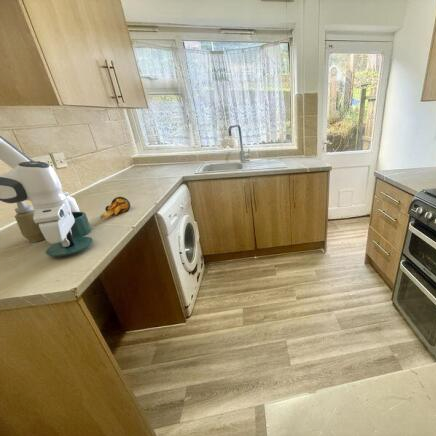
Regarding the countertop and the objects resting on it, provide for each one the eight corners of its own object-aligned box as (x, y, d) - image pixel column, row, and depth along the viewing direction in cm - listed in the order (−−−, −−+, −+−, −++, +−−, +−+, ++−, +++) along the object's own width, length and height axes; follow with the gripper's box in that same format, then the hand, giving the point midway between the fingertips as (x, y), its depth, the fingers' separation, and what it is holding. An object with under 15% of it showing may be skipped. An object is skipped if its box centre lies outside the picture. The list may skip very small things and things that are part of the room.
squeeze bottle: (57, 235, 105) (36, 196, 97) (34, 245, 98) (10, 203, 90) (45, 233, 107) (24, 194, 100) (22, 242, 100) (-2, 201, 93)
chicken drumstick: (136, 199, 132) (119, 199, 115) (131, 218, 133) (113, 222, 115) (118, 194, 131) (98, 194, 113) (113, 214, 131) (92, 217, 113)
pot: (48, 248, 95) (38, 228, 92) (60, 230, 110) (52, 213, 106) (88, 240, 101) (80, 221, 97) (94, 224, 115) (88, 207, 112)
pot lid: (41, 262, 83) (34, 247, 81) (52, 244, 94) (46, 231, 92) (90, 251, 89) (85, 237, 87) (96, 236, 100) (91, 223, 98)
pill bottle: (86, 221, 119) (73, 191, 112) (66, 227, 112) (51, 197, 106) (80, 218, 123) (67, 189, 116) (60, 224, 116) (45, 194, 110)
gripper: (50, 201, 92) (64, 234, 98) (30, 220, 76) (49, 258, 81) (71, 198, 95) (84, 230, 100) (57, 216, 78) (73, 253, 84)
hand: (68, 243), depth 91 cm, fingers closed on pot lid, 3 cm apart
